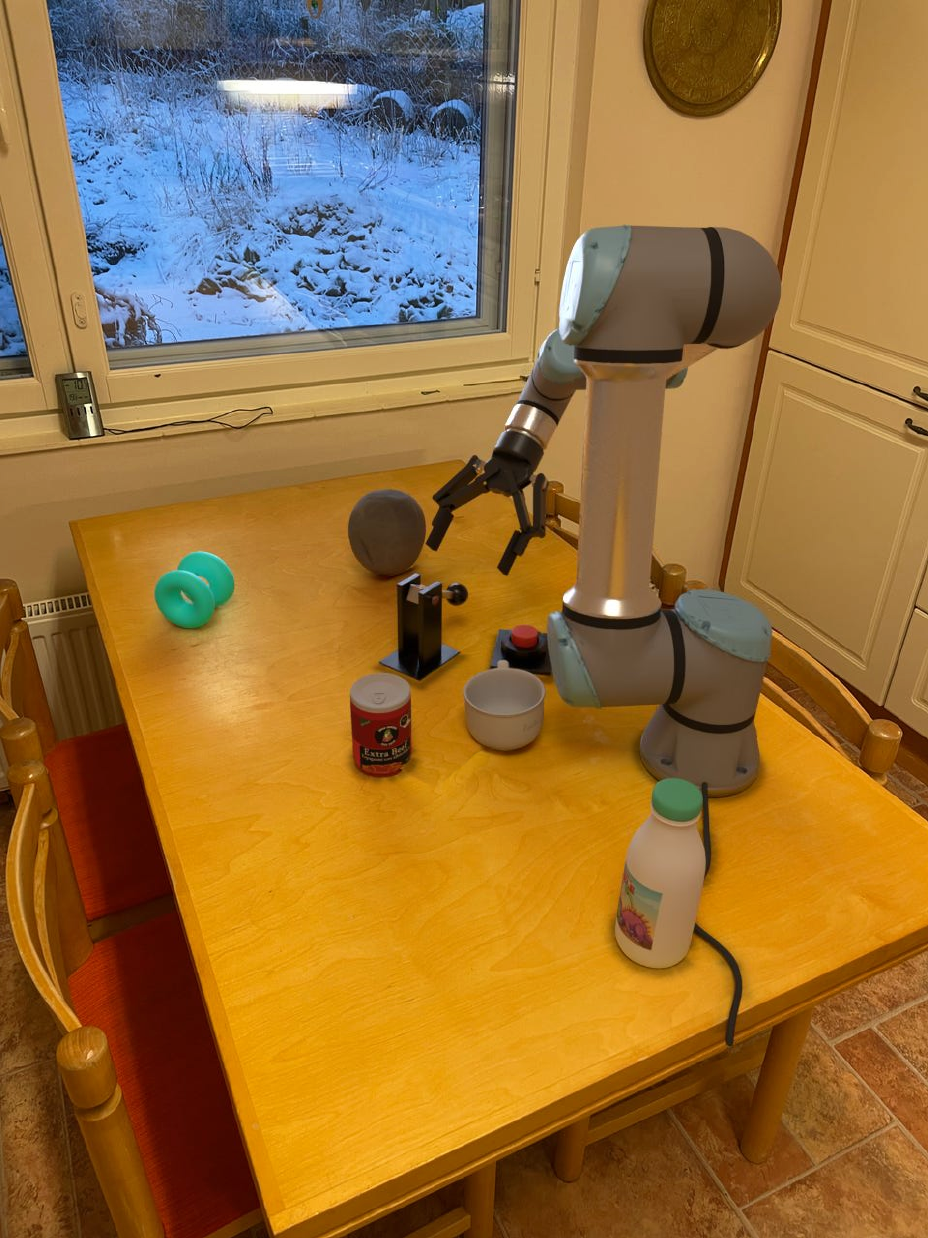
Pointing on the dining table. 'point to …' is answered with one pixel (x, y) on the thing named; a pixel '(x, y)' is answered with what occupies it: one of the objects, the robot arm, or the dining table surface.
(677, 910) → the milk bottle
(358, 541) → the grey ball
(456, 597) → the lever
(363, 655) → the dining table surface
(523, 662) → the black button base
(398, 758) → the canned food
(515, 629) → the button
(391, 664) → the black lever stand
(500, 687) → the teacup
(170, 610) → the teal spool
